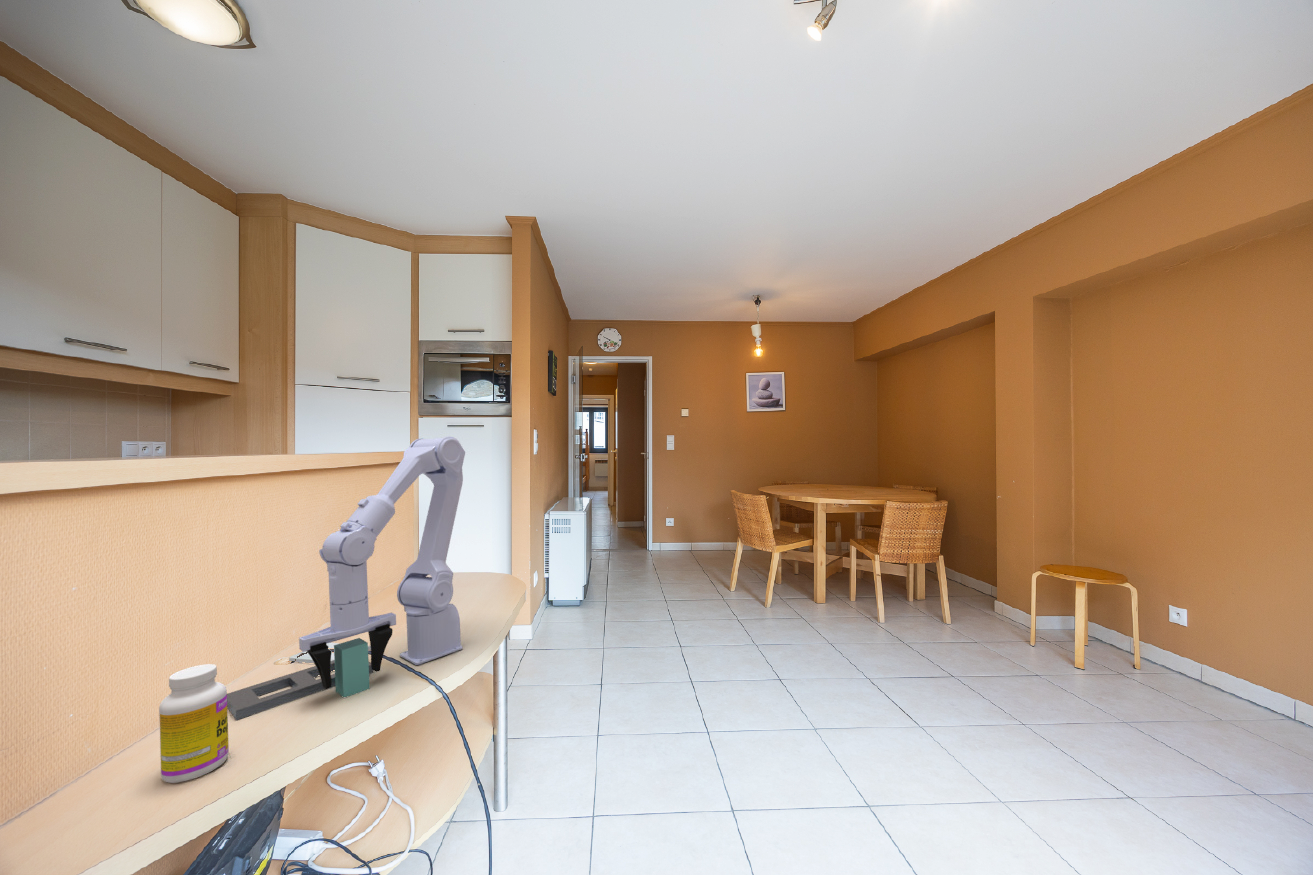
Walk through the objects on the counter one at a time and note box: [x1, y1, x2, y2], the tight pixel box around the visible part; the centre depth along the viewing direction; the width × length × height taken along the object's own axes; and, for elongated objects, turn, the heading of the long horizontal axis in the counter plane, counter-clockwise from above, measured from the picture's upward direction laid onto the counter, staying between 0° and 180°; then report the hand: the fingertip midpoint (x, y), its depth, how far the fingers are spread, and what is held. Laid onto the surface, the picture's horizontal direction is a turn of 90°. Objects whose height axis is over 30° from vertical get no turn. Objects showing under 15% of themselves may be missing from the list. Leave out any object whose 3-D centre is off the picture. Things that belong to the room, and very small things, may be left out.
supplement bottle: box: [158, 663, 230, 784], centre depth 66 cm, size 7×7×13 cm
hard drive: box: [288, 642, 371, 664], centre depth 103 cm, size 2×8×12 cm
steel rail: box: [227, 660, 375, 721], centre depth 89 cm, size 20×9×2 cm, turn 140°
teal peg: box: [334, 637, 371, 698], centre depth 87 cm, size 4×4×8 cm
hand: (352, 678), depth 87 cm, fingers open, 7 cm apart
